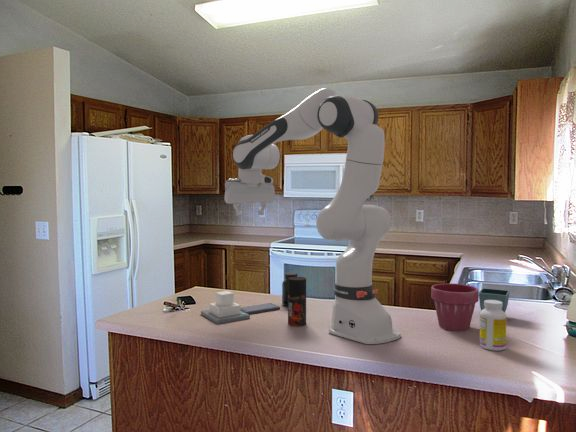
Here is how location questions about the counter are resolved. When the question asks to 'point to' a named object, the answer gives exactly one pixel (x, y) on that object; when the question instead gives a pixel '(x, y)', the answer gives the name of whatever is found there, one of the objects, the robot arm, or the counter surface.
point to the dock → (224, 313)
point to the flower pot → (493, 297)
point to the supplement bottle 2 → (493, 326)
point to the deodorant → (297, 301)
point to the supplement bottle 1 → (286, 287)
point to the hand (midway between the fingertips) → (250, 215)
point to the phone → (260, 308)
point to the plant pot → (454, 305)
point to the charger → (224, 299)
